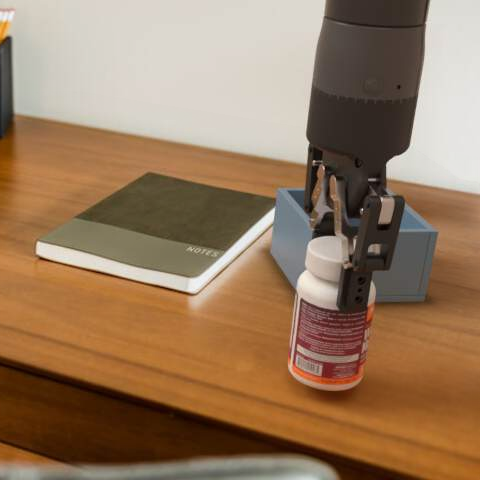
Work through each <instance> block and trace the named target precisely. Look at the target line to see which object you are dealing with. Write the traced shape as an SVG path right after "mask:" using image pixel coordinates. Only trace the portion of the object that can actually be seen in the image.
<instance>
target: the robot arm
mask: <svg viewBox="0 0 480 480" xmlns="http://www.w3.org/2000/svg"><path fill="white" fill-rule="evenodd" d="M430 5H431V0H325V3H324V12H323V16H322V17H323V18H322V23H321V27H320V31H319V35H318V38H317V44H316V47H315V55H314V63H313V72H312V79H311V87H310V88H311V89H310V97H309V105H308V112H307V122H306V130H305V137H306V139H307V141H308V143H309V144H308V147H307V159H306V173H305V186H304V188H305V197H304V211H305V213H306V214H309V213H311V216H310V220H309V223H310V227H311V228H312V229H315V230H313V234H312V240H313V239H315V238H318V237H323V236H338V237H339V238H341V241H342V263H343V265H342V267H341V274H340V281H339V288H338V295H337V302H336V306H337V307H338V309H339V310H340V311H341V312H342V313H361V312H364V311H365V310H366V309H367V305H368V299H369V293H370V287H371V280H372V274H373V271H388V270H390V267H391V263H392V259H393V255H394V250H395V246H396V242H397V238H398V233H399V229H400V225H401V221H402V217H403V212H404V208H405V203H406V200H405V197H404V195H402V194H396V195H389V194H388V192H387V188H388V186H387V185H388V180H387V170H388V169H387V163H389V162H390V160H392V159H393V158H395V157H397V156H401V155H403V154H405V153H406V152H407V151H408V150H409V148H410V146H411V143H412V136H413V131H414V125H415V124H414V123H415V117H416V112H417V107H418V106H417V105H418V99H419V94H420V87H421V82H422V76H423V71H424V70H423V69H424V64H425V54H426V31H427V30H426V29H427V22H428V17H429V12H430V11H429V10H430ZM353 220H361V221H360V225H359V226H351V225H349V224H348V222H347V221H353ZM354 237H357V240H356V244H355V249H354ZM379 244H382V245H381V249H379Z"/></svg>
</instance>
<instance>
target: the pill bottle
mask: <svg viewBox="0 0 480 480" xmlns="http://www.w3.org/2000/svg"><path fill="white" fill-rule="evenodd" d="M355 244H356V239H354V249H355ZM342 265H343V263H342V241H341V238H339V237H338V236H323V237H318V238H315V239H313V240H311V241H310V242H309V244H308V247H307V254H306V260H305V267H306V268H307V270H305V271H304V272H303V273H302V274H301V275H300V277H299V279H298V282H297V287H296V290H295V296H294V303H293V313H292V320H291V330H290V340H289V347H288V357H287V368H288V371H289V372H290V374H291V376H292V377H293V378H294V379H295V380H296V381H298V382H299V383H300V384H303V385H305V386H308V387H311V388H312V389H313V388H314V389H317V390H321V391H329V392H330V391H331V392H339V391H340V392H341V391H346V390H350V389H352V388H354V387H356V386H357V385H358V384H359V383H360V382H361V381H362V380H363V377H364V372H365V367H366V361H367V356H368V355H367V354H368V349H369V341H370V336H371V328H372V323H373V316H374V310H375V303H376V302H375V296H376V289H375V285H374V283H373V282H372V280H371V287H370V293H369V299H368V305H367V309H366V310H365V311H364V312H361V313H342V312H341V311H340V310H339V309H338V307H337V306H336V302H337V295H338V288H339V281H340V274H341V267H342Z"/></svg>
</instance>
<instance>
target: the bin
mask: <svg viewBox="0 0 480 480" xmlns="http://www.w3.org/2000/svg"><path fill="white" fill-rule="evenodd" d="M276 191H277V192H276V199H275V206H274V216H273V222H272V223H273V224H272V230H271V231H272V232H271V241H270V249H269V253H270V254H271V256H272V257H273V259H274V261H275V262H276V263H277V265H278V267H279V268H280V269H281V271H282V272H283V274H284V275H285V277H286V279H287V280H288V281H289V283H290V284H291V286H292V287H293V288H294V290H295V291H296V287H297V282H298V279H299V277H300V275H301V274H302V273H303V272H304V271H305V270H307V268H306V267H305V260H306V254H307V247H308V244H309V242H310V241H311V240H312V234H313V230H315V229H312V228H311V227H310V223H309V220H310V216H311V213H309V214H306V213H305V211H304V197H305V187H277V190H276ZM387 192H388V194H389V195H397V194H396V193H395V192H394V191H392V190H391V189H390V188H389V187H387ZM360 221H361V220H353V221H347V222H348V224H349V225H351V226H359V225H360ZM438 235H439V230H438V229H436V228H435V227H434V226H433V225H432V224H431V223H429V222H428V221H427V220H426V219H425V218H424V217H422V216H421V215H420V214H419V213H418V212H417V211H416V210H414V209H413V208H412V207H411V206H409V205H408V203H406V202H405V208H404V212H403V217H402V221H401V225H400V229H399V233H398V238H397V242H396V246H395V250H394V255H393V259H392V263H391V267H390V270H388V271H373V274H372V282H373V283H374V285H375V289H376V296H375V303H397V302H398V303H399V302H400V303H402V302H404V303H405V302H406V303H407V302H408V303H409V302H425V300H426V295H427V291H428V287H429V281H430V276H431V271H432V266H433V261H434V258H435V257H434V256H435V251H436V246H437V242H438V241H437V240H438ZM354 239H356V240H357V237H354ZM381 245H382V244H379V249H381Z"/></svg>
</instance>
